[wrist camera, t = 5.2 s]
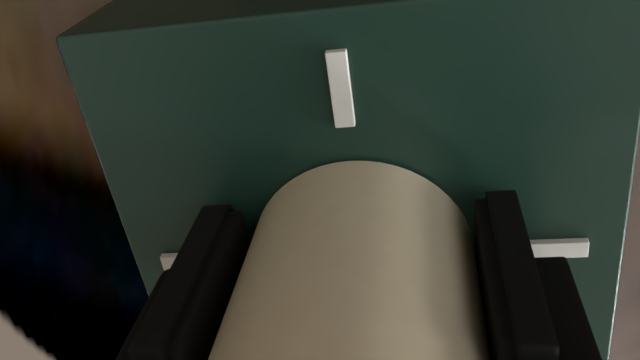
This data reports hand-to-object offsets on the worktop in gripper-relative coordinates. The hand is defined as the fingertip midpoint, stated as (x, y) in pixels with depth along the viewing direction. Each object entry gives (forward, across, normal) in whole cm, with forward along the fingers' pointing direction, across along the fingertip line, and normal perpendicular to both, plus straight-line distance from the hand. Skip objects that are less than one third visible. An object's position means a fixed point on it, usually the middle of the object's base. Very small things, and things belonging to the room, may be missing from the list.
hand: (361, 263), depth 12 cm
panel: (+3, 0, 0) cm, 3 cm away
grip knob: (0, 0, 0) cm, 0 cm away
